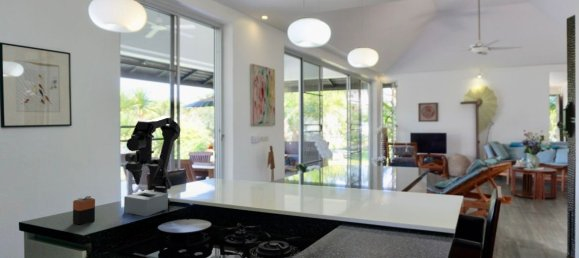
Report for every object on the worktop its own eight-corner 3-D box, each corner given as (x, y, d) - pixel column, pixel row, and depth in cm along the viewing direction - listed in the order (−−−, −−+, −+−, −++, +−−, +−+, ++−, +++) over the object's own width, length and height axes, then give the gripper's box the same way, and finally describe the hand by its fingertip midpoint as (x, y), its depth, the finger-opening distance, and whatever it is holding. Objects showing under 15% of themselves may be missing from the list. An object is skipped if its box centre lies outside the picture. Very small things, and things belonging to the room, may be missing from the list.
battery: (95, 221, 155) (95, 196, 154) (79, 225, 149) (79, 199, 148) (88, 219, 157) (88, 195, 156) (72, 223, 151) (72, 198, 150)
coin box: (146, 205, 182) (146, 190, 182) (167, 208, 178) (168, 193, 177) (124, 212, 169) (124, 196, 168) (146, 216, 165) (146, 200, 164)
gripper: (144, 145, 186) (143, 177, 187) (115, 149, 168) (114, 184, 169) (164, 147, 182) (163, 179, 183) (136, 151, 164) (135, 187, 166)
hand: (144, 182), depth 175 cm, fingers open, 9 cm apart
